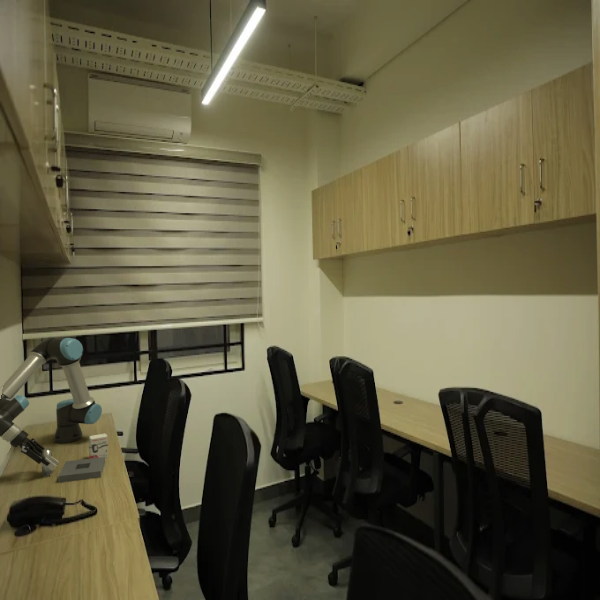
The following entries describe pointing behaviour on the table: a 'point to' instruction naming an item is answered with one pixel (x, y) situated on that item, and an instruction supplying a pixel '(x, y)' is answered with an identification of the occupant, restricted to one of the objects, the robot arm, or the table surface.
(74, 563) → the table surface
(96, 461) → the hole block
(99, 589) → the table surface
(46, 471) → the steel pin
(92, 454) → the ink box
